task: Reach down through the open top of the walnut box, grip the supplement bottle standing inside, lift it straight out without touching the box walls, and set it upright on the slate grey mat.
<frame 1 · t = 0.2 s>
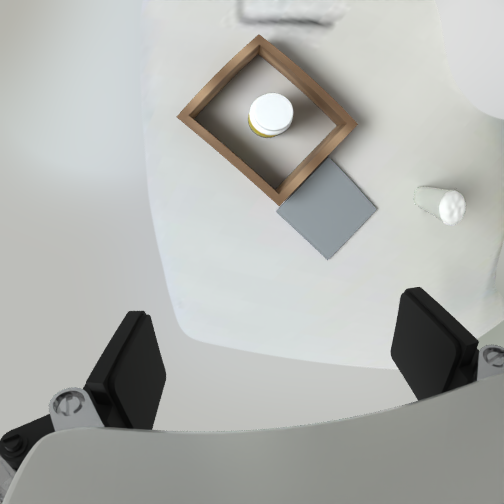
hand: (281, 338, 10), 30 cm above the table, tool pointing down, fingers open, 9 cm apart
walnut box: (266, 119, 36), on the table
milkshake: (419, 194, 39), on the table
supplement bottle: (266, 119, 36), on the table
slate mat: (328, 209, 40), on the table
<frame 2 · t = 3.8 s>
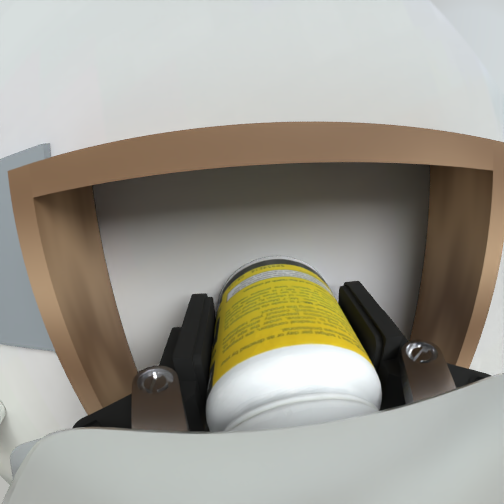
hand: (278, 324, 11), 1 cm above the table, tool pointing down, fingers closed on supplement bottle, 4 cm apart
walnut box: (274, 307, 13), on the table
supplement bottle: (274, 304, 13), on the table, touching gripper
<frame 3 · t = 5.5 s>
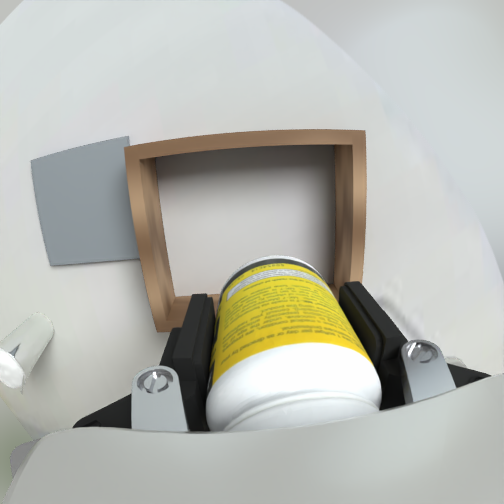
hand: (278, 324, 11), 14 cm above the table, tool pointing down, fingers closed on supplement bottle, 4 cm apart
walnut box: (250, 223, 24), on the table
milkshake: (46, 324, 27), on the table
supplement bottle: (274, 304, 13), point 12 cm above the table, touching gripper
slate mat: (83, 205, 23), on the table
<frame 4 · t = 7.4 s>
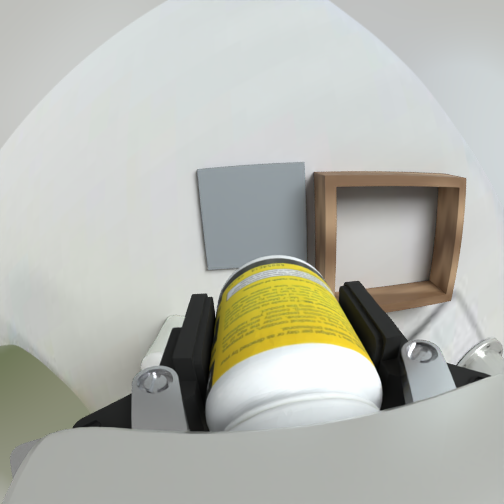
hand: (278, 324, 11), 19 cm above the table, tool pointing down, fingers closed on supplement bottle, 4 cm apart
walnut box: (385, 236, 30), on the table
milkshake: (182, 326, 33), on the table
supplement bottle: (274, 304, 13), point 18 cm above the table, touching gripper
slate mat: (254, 216, 29), on the table
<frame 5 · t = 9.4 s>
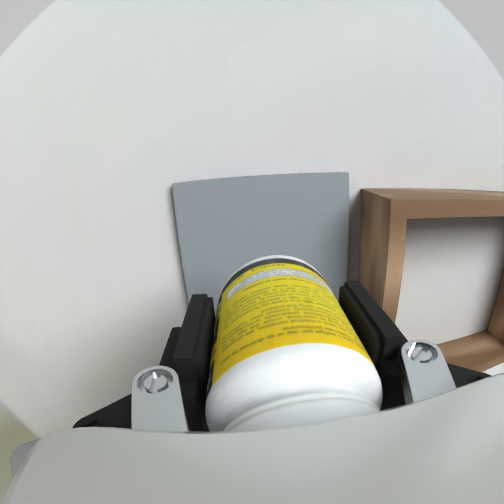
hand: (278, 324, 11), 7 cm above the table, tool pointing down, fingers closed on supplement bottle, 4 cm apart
walnut box: (448, 281, 19), on the table
supplement bottle: (274, 304, 13), point 6 cm above the table, touching gripper
slate mat: (266, 258, 18), on the table
when the fingers open (3 cm above the table, at t = 11.1 s): supplement bottle drops 1 cm, resting on slate mat.
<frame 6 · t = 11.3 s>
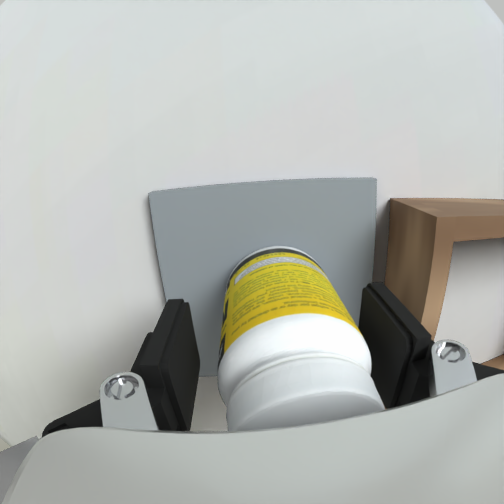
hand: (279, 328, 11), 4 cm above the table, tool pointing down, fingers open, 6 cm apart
walnut box: (478, 304, 16), on the table
supplement bottle: (276, 290, 14), resting on slate mat
slate mat: (270, 287, 14), on the table
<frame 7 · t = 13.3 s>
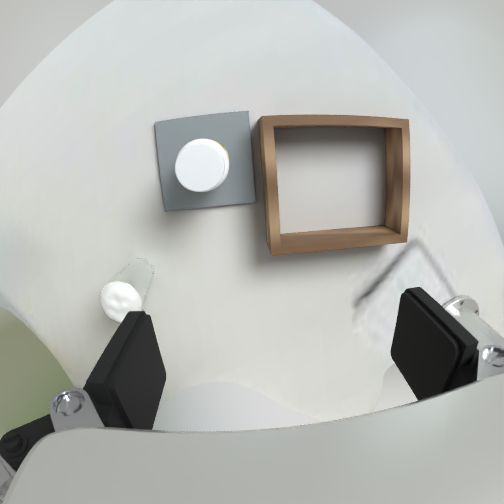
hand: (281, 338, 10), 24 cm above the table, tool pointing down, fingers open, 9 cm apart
walnut box: (333, 178, 33), on the table
milkshake: (144, 270, 35), on the table
supplement bottle: (207, 161, 31), resting on slate mat
slate mat: (205, 160, 31), on the table
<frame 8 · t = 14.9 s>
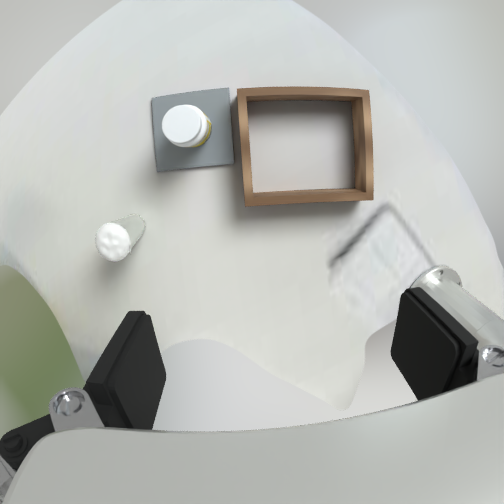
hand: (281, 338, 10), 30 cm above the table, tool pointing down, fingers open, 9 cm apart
walnut box: (303, 144, 37), on the table
milkshake: (137, 225, 40), on the table
supplement bottle: (193, 129, 36), resting on slate mat
slate mat: (192, 129, 36), on the table
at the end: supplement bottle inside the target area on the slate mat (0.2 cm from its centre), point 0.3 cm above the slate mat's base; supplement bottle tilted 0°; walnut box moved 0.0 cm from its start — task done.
